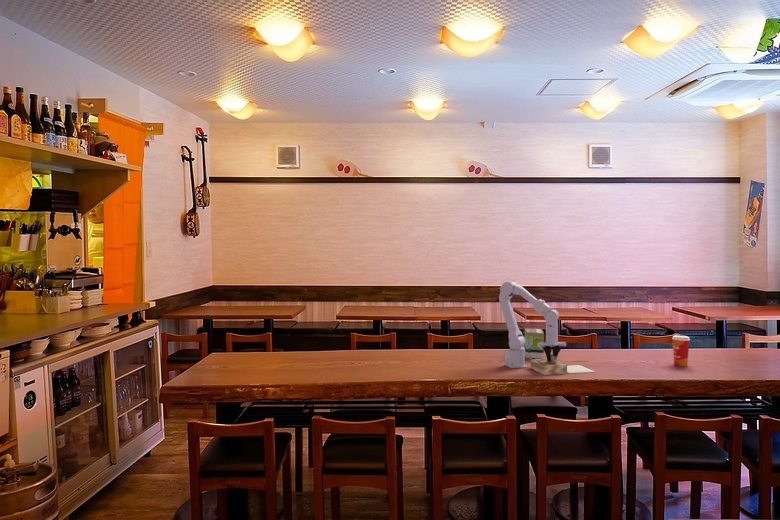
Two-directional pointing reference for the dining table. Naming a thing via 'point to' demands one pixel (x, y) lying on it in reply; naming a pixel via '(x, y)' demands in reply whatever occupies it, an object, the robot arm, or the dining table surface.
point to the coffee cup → (680, 350)
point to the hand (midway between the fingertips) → (551, 361)
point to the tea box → (534, 343)
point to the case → (548, 368)
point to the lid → (551, 361)
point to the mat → (578, 369)
